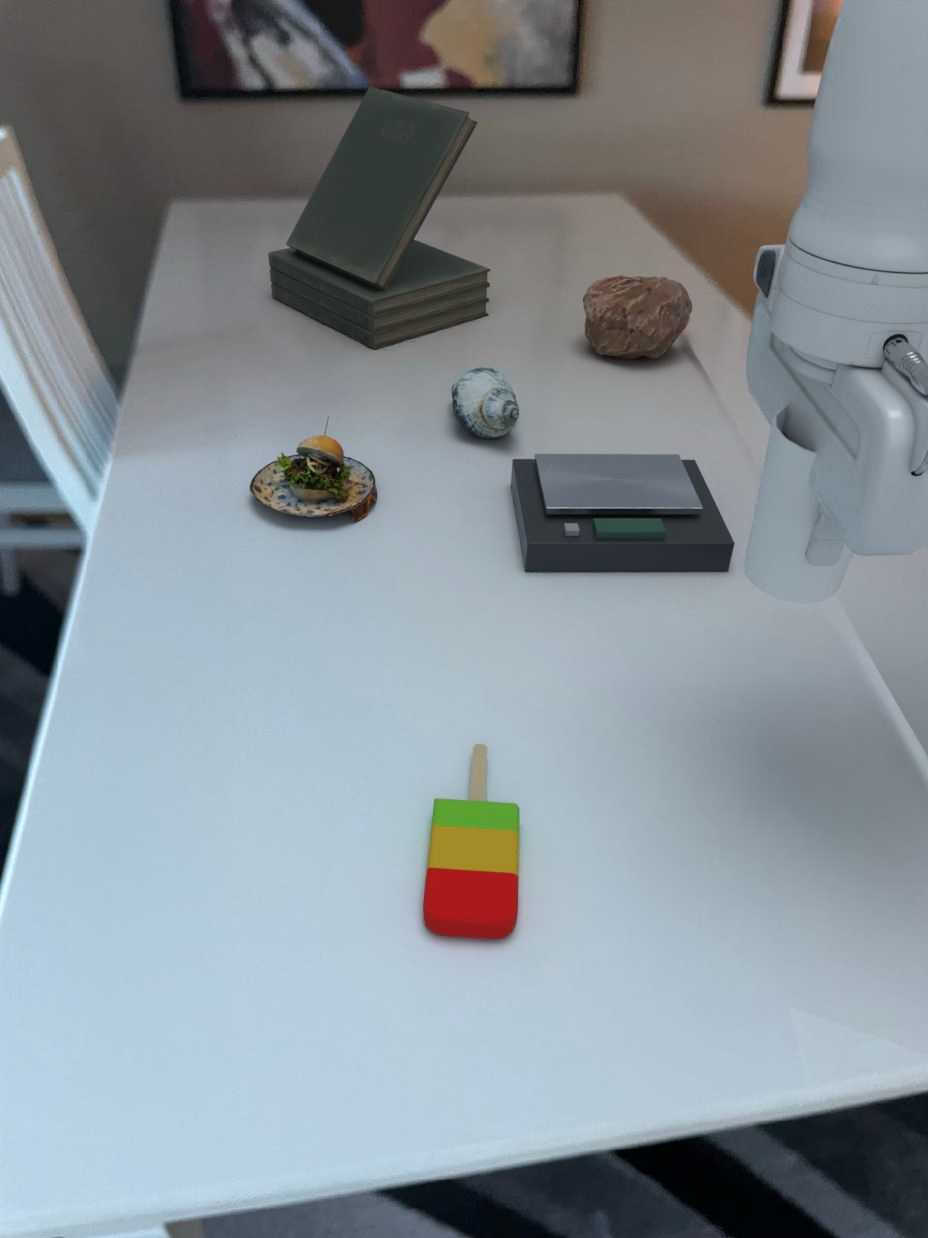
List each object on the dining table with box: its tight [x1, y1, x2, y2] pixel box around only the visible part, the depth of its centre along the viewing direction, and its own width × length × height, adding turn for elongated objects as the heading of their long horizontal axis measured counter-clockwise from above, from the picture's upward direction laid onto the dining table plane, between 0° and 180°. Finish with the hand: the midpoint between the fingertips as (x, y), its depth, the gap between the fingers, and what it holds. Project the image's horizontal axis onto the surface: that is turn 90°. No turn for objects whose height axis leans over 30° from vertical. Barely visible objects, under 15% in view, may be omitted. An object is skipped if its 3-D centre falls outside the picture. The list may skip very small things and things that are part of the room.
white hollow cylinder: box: [744, 405, 854, 604], centre depth 58 cm, size 7×7×10 cm
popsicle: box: [422, 743, 521, 940], centre depth 63 cm, size 6×15×2 cm, turn 177°
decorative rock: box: [582, 274, 693, 360], centre depth 123 cm, size 13×11×10 cm
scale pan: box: [533, 453, 703, 515], centre depth 92 cm, size 14×10×1 cm
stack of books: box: [267, 86, 491, 350], centre depth 129 cm, size 23×20×25 cm
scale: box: [510, 458, 736, 573], centre depth 92 cm, size 18×15×4 cm
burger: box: [249, 415, 378, 523], centre depth 93 cm, size 12×12×8 cm
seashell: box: [451, 367, 520, 440], centre depth 107 cm, size 6×8×12 cm
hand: (802, 532), depth 59 cm, fingers closed on white hollow cylinder, 4 cm apart
